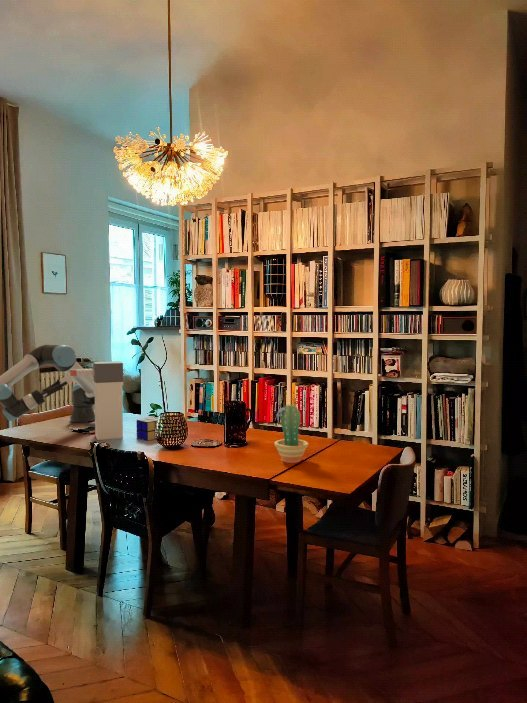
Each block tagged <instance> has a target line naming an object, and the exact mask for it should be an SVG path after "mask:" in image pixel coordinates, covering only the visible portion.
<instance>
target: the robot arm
mask: <svg viewBox="0 0 527 703" xmlns="http://www.w3.org/2000/svg"><path fill="white" fill-rule="evenodd" d="M44 366H50V367H54V368H55V369H56V370H57V371H59V372H60V373H65V374H66V375H65V376H64V377H62V378H60V379H56V381H55V382H54V383H52V384H51V385H48V386H47V387H44V388H43V389H42V390H41V391H40V390H39V389H35V390H33V391H32V392H31V393H28V394H26V395H25V396H23V397H21V398H20V399H19V398H18V397H17V396H16V394H15V393H14V392H13V390H12V389H11V388H10V387H12V386H13V385H15V384H16V383H17V382H18V381H20V380H21V379H23V378H24V377H25V376H26V375H28V374H29V373H30V372H32V371H34V370H37V369H39V368H40V367H44ZM83 369H84V367H82V366H81V364H79V363H78V361H77V356H76V352H75V350H74V349H73V347H72V346H70V345H66V344H43V345H39V346H38V347H36V348H33V349H32V350H31V351H28V353H26V354H25V355H24V356H23V359H21V360H20V361H18V363H16V364H14V365H13V366H12V367H10V368H9V369H8V370H6V371H5V372H4V373H2V374H1V375H0V404H1V406H2V407H3V409H2V413H3V415H4V417H5V418H6V419H7V420H8V422H13V421H15V420H16V419H19V418H20V417H22V416H23V415H25V414H26V413H28V412H30V411H32V410H33V411H34V410H35V409H36V408H37V407H38V406H41V405H43V404H44V403H46V399H45V398H47V397H49V396H51V395H53V394H54V393H56V392H59V391H63V390H64V388H65V387H67V386H69V385H70V384H72V383H73V382H75V384H74V385H73V386H72V410H71V415H70V417H69V419H70V420H69V421H70V422H71V423H79V422H80V423H89V422H88V421H91V422H94V421H93V420H95V409H94V406H95V384H94V383H93V380H94V377H93V376H92V375H90V376H70V370H83ZM93 405H94V406H93Z"/></svg>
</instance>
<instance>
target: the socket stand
mask: <svg viewBox="0 0 527 703" xmlns="http://www.w3.org/2000/svg"><path fill="white" fill-rule="evenodd" d="M92 366H93V368H92V369H95V375H93V379H94V380H93V383H94V384H95V405H94V413H95V421H94V430H95V431H94V432H95V434H94V435H95V438H96V440H97V441H102V440H103V441H104V440H115V439H124V426H123V425H124V424H123V423H124V419H123V418H124V417H123V416H124V415H123V414H124V413H123V412H124V411H123V408H124V407H123V406H124V405H123V404H124V403H123V386H124V362H122V361H116V360H115V361H112V360H111V361H93V365H92Z"/></svg>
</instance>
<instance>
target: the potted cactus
mask: <svg viewBox="0 0 527 703" xmlns="http://www.w3.org/2000/svg"><path fill="white" fill-rule="evenodd" d="M301 417H302V416H301V412H300V410H299V409H298V407H297V406H296V405H294V404H291V405H289V404H287V405H285V406H283V407H280V408H279V409H278V411H277V413H276V419H277V421H278V422H279V419H280V426H281V428H282V433H283V439H282V438H281V439H279V440H275V441H274V446H275V448H276V450H277V452H278V455H279V456H280V457H281V458H280V460H281V462H284V463H289V464H291V463H293V464H294V463H300V462H301V461H302V459H301V458H302V456H304V454H305V451H306V448H308V447H309V442H308V441H306V440H303V439H299V429H300V425H301Z"/></svg>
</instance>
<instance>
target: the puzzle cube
mask: <svg viewBox="0 0 527 703" xmlns="http://www.w3.org/2000/svg"><path fill="white" fill-rule="evenodd" d="M158 419H159V418H156V417H146V418H139V419H136V439H137V440H138V439H139V440H142V441H145V442H146V441H147V442H150V441H154V440H156V439H155V428H156V424H157V421H158Z"/></svg>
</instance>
